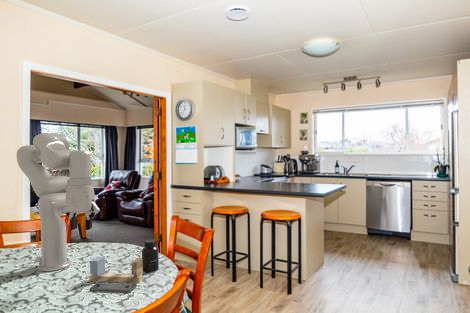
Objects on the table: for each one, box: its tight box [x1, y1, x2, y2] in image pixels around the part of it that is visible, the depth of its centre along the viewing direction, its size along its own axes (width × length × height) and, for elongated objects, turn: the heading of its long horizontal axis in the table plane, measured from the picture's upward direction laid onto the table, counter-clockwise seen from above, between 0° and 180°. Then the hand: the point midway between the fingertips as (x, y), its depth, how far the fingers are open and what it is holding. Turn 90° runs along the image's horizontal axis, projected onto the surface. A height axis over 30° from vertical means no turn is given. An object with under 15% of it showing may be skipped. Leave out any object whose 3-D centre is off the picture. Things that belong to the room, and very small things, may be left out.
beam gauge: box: [88, 257, 144, 284], centre depth 118 cm, size 20×10×8 cm, turn 82°
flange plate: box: [89, 282, 137, 294], centre depth 112 cm, size 15×5×1 cm, turn 82°
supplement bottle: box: [141, 239, 160, 273], centre depth 131 cm, size 7×7×12 cm
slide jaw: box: [84, 256, 106, 280], centre depth 119 cm, size 3×10×6 cm, turn 172°
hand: (81, 228), depth 122 cm, fingers open, 5 cm apart
